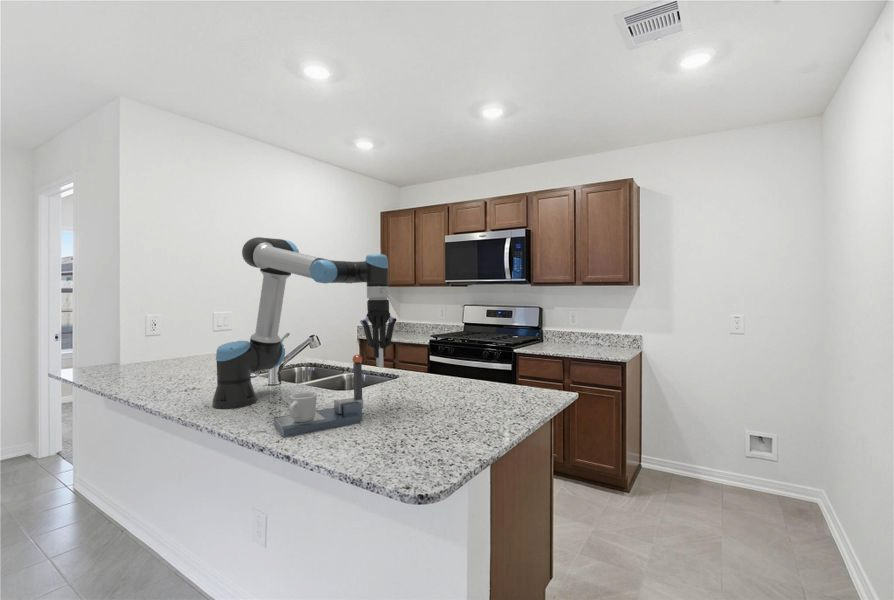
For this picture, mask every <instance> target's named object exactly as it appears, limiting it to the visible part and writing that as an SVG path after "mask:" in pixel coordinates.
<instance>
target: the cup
mask: <svg viewBox="0 0 894 600" xmlns="http://www.w3.org/2000/svg"><path fill="white" fill-rule="evenodd" d="M289 401H290V402H289V403H290V405H289V407H288V415H290V417H291V418H293V420H294V421H295V422H308V421H311V420H313V419H314V417H315V411H317V393H316V392H312V391H301V392H296V393H293V394H291V395H290V396H289Z"/></svg>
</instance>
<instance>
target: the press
mask: <svg viewBox="0 0 894 600" xmlns="http://www.w3.org/2000/svg"><path fill="white" fill-rule="evenodd" d="M362 421H363V409H362V404H361V403H360V402H359V403H353V404H347V405H342V413H341V414H338V413H337V412H336V411H334V407H329V408H324V409H316V410H315V417H314V419H313V420H311V421H308V422H295V421H294V420H293V418H291V417H290V415H289V414H287V415H283V416H276V417H273V426H274V427H275V429H276V430H277V431H278V432H279V434H280V435H281V436H282V438H285V439H286V438H289V437H294V436H299V435H305V434H311V433H316V432H321V431H326V430H332V429H337V428H342V427H347V426H352V425H356V424H361V422H362Z"/></svg>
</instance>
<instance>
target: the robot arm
mask: <svg viewBox="0 0 894 600" xmlns="http://www.w3.org/2000/svg"><path fill="white" fill-rule="evenodd" d="M241 256H242V259H243V260H244V262H245V263H246V264H247V265H249V266H250V267H252V268H257V269H259V272H260V273H261V274H262V276H263V278H262V284H261V285H262V286H261V291H260V298H259V305H258V312H257V319H256V326H255V332H254V333H252V334H251V336H250V339H249V341H248V340H237V341H230V342H227V343H223V344H221V345H219V346H218V347H217V348H216V354H215V355H216V356H215V361H216V382H217V386H216V389H215V392H214V395H213V398H212V407H213V408H215V409H236V408H242V407H247V406H250V405H253V404H255V403H256V402H257V394H256V391H255V389H254V387H253V383H252V378H251V377H252V376H251V375H252V373H257V372H261V371H267V370H268V371H269V370H271V369H273V368H278V366H281V364H282V363H283V362H284V359H285V355H286V349H285V348H284V347H285V346H284V345H285V344H284V343H283V342H282V339H281V338H282V337H280V336H279V328H280V323H281V316H282V311H283V304H284V296H285V290H286V283H287V279H288V278H289V277H291V275H292V274H294V275H296V276H301V277H304V278H309V279H312V280H313V281H314V282H316V283H318V284H319V283H320V284H337V283H338V284H356V283H357V284H358V283H359V284H360V283H366V298H367V299H368V300H366V304H367V305H366V307H367V313H366V317H365V318H363V319H361V320H360V321H359V323H360V324H361V325H362V327H363V330H364V334H365V335H364V336H365V338H366V342H367V345H368V347H369V348H372V349H373V357H374V359H375V361H376V362H375V364H376V367H377V368H385V367H384V366H385V365H384V362H385V361H384V358H385V357H386V353H387V352H386V348H387V347H389V346H391V344H392V343H391V342H392V339H393V333H394V328H395V327H394V326H395V324H396V322H397V318H396V317H392V315H391V312H390V300H389V297H390V293H389V291H390V289H389V263H388V262H389V261H388V256H387V255H386V254H381V253H380V254H377V253H375V254H367V255H366V256H365V260H364V261H363V260H362V261H348V260H347V261H345V260H331V259H327V258H322V257H317V256H314V255H308V254H304V253H301V252H299V249H298V248H297V246H296V244H295V243H294V242H292V241H291V240H287V239H284V238H283V239H282V238H273V237H272V238H270V237H269V238H268V237H260V236H259V237H253V238H250V239H249V240H247V241H246V242H245V243H244V244H243V246H242V250H241ZM387 322H388V324H387ZM369 324H371V328H370V325H369ZM371 329H372V331H371Z"/></svg>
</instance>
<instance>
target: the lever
mask: <svg viewBox="0 0 894 600" xmlns="http://www.w3.org/2000/svg"><path fill="white" fill-rule="evenodd" d="M362 361H363V357H362V356H361V355H360V354H355V355H353V356H352V362H353V364H352V365H353V397H350V398H349V397H348V398H345V399H344V398H343V399H334V400H333V408H334V411H336V412H337V413H338V414H341V413H342V405H347V404H353V403H359V402H360V403H361V404H362V410H364V398H363V376H362V375H363V373H362V372H363V370H362V365H363V364H362Z"/></svg>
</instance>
